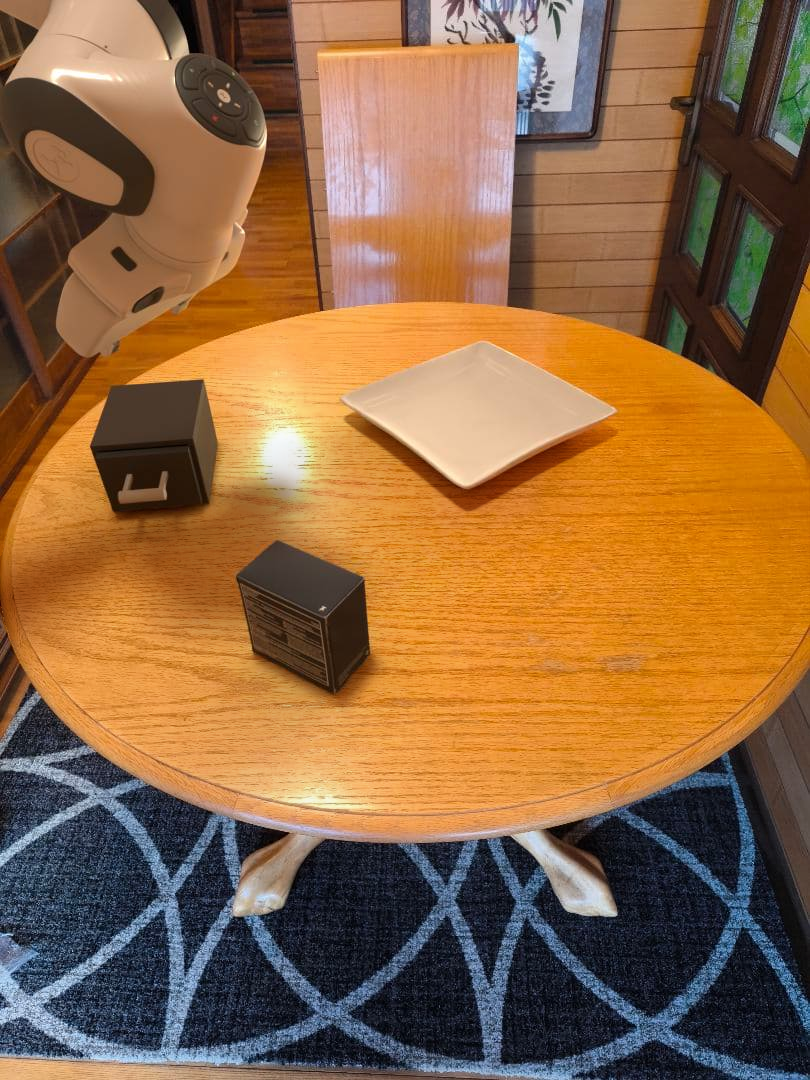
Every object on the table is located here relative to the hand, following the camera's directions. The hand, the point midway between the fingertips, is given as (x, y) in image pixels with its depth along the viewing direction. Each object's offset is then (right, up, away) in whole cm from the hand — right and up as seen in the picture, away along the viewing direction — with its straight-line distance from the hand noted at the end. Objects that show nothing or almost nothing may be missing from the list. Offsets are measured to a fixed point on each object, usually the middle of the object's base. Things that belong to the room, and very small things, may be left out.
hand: (141, 327), depth 78 cm
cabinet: (-4, -13, +20) cm, 24 cm away
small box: (+18, -33, -2) cm, 38 cm away
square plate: (+37, -6, +27) cm, 46 cm away
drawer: (-3, -15, +17) cm, 23 cm away
